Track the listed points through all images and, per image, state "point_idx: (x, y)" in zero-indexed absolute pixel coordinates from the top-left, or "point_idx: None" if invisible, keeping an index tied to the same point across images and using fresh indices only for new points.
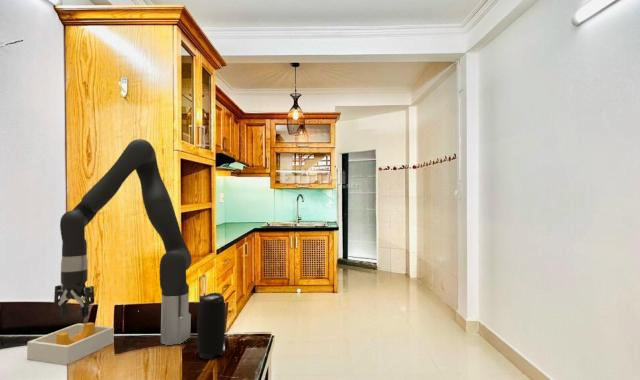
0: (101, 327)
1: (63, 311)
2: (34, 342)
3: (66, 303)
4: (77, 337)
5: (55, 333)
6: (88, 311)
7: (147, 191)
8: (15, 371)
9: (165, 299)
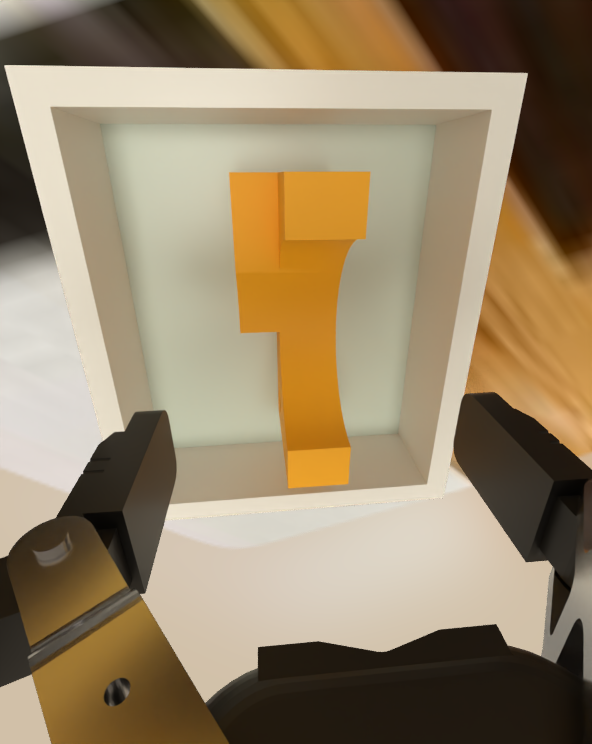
0: (390, 108)
1: (161, 497)
2: (178, 515)
3: (92, 529)
4: (279, 288)
5: (111, 360)
6: (554, 441)
7: None
8: (241, 530)
9: None
